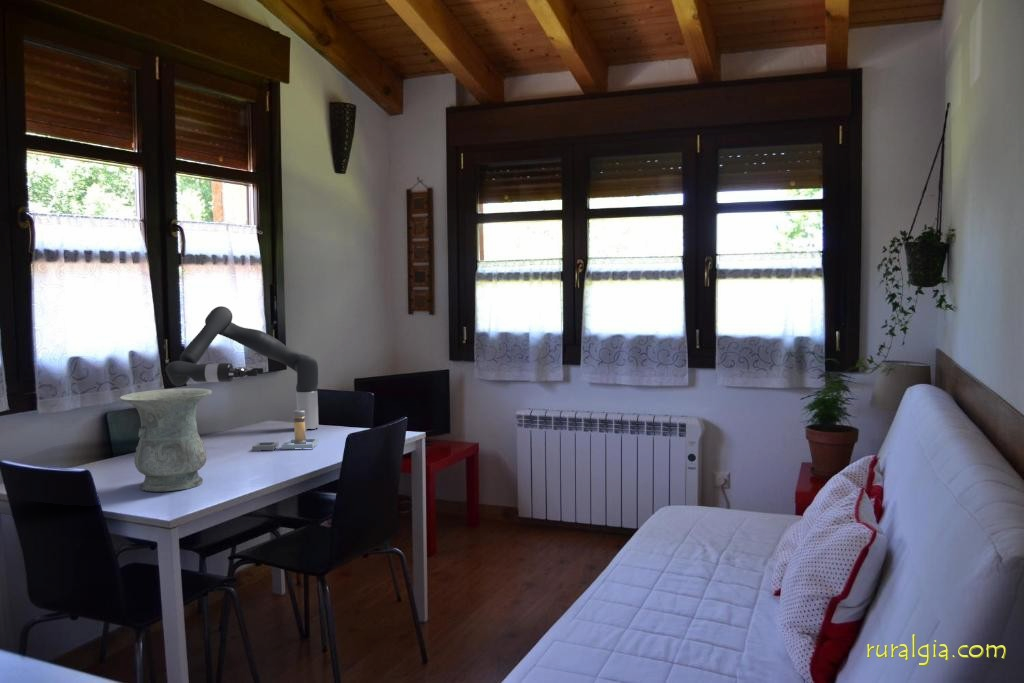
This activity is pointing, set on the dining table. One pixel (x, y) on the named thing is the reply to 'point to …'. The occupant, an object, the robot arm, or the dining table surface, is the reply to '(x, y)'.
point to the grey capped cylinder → (299, 426)
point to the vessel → (169, 438)
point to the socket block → (265, 446)
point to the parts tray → (292, 446)
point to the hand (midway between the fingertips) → (260, 371)
